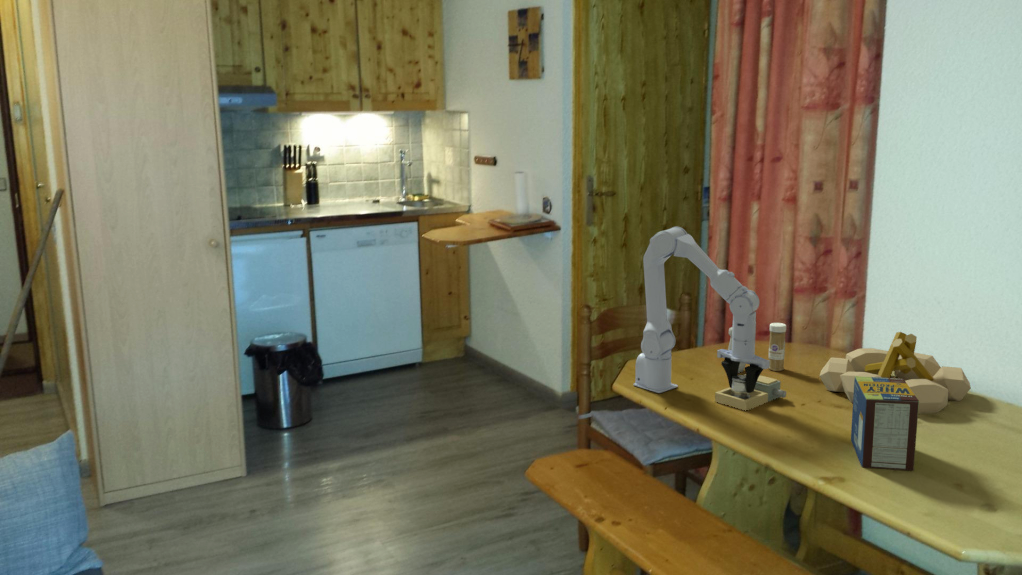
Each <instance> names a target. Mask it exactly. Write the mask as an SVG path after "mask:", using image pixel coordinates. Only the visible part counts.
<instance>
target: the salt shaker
mask: <svg viewBox="0 0 1022 575" xmlns="http://www.w3.org/2000/svg"><path fill="white" fill-rule="evenodd" d="M728 335H729V336H730V339H729V344H728V346H727V350H732V326H731V327H729V328H728ZM746 365H747V364H746V363H742V362H740V364H739V369H738V374H741V373H743V372H744V371H745V367H746ZM740 372H741V373H740Z"/></svg>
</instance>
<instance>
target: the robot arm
mask: <svg viewBox="0 0 1022 575" xmlns="http://www.w3.org/2000/svg"><path fill="white" fill-rule="evenodd" d="M672 256H673V257H677V258H679V257H680V258H686V259H687V260H689V261H690V262H691V263H692V264H694V266H695V267H697V268H698V269H699V270H700V271H701V272H702V273H703V274H704V275H706V276H707V278H709V282H710V283H709V284H710V286H711V288H712V289H713V290H715V292H716V293H717V294H718V296H720V297H721V298H722V299H724V301H725V302H726V303H727V304H728V306H729V311H730V312H731V313H732V326H731V327H732V350H728V349H724V348H721V349H717V351H716V352H717V353H716V354H717V355H716V358H718V359H721V358H722V359H724V360H722V361H721V366H722V368H723V369H724V371H725V374H726V377H727V381H728V385H729V386H728V387H730V388H732V376H734V375H739V373H738V369H739V364H740V362H742V363H746V365H748V366H745V368H744V371H745V374H746V378H747V393H751V392H754V389H755V385H756V382H757V380H758V377H759V376H760V375H762V372H763V370H767V369H768V368H769V366H770V360H769V359H766V358H763V357H761V356H759V355H756V354H755V352H756V349H755V348H756V329H757V322H756V321H757V318H756V317H757V310H758V309H759V307H760V298H759V296H758V295H757V293H756V292H755V291H754V290H752V289H751V290H750V289H749V288H748V287H747V286H744V285H743V284H742V283H741V282H740V281H739V280H738V279H737V278H736V277H735V273H734V272H733V271H729V270H727V269H721V268H719V267H718V266H717V265H716V263H715V262H714V261H713V260H712V258H710V257H709V256H708V254H706V252H705V251H704V250H703V249H702V247H700V245H699V244H698V243H697V242H696V240H695V239H694V238H693V236H692V235H691V234H690V233H688V232H687V230H685V229H684V228H683V227H680V226H673V227H670V228H668V229H665V230H661V231H658V232H656V233H655V234H654V235H653V236H652V237H651V238H650V239H649V244H648V246H647V249H646V251H645V253H644V254H643V258H642V259H643V262H642V263H643V274H644V275H643V276H644V289H645V290H644V293H645V305H646V321H647V322H646V325H645V327H644V329H643V332H642V335H643V336H642V337H643V338H642V340H641V343H640V350H641V353H640V354H638V356H637V358H636V361H635V373H634V374H635V382H634V383H632V384H633V386H634V387H638V388H640V389H644V390H647V391H651V392H653V393H658V394H661V393H664V392H667V391H670V390H673V389H675V388H677V387H678V386H679V385H678V384H676V383H672V349H673V348H674V347H675V345H676V337H675V336H676V335H674V332H673V330H672V324H671V322H670V321H669V320H668V312H667V311H668V310H667V297H666V296H667V294H666V280H665V278H666V276H665V262H666V261H667V260H668V259H670V258H671V257H672Z"/></svg>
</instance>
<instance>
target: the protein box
mask: <svg viewBox="0 0 1022 575" xmlns="http://www.w3.org/2000/svg"><path fill="white" fill-rule="evenodd" d="M918 409H919V400H918V399H917V397H916V396H915V394H914V393H913V392H912V390H911V389H910V387H909V386H908V384H907V383H906V382H905V380H904V379H903V378H898V377H890V378H882V377H861V376H855V380H854V396H853V403H852V414H851V430H850V431H851V432H850V442H851V444H852V447H853V448H854V451H855V454H856V456H857V459H858V462H859V465H860V466H861V467H862V468H867V469H868V468H870V469H886V470H899V471H914V470H915V456H916V445H917V433H918V418H919V414H918Z"/></svg>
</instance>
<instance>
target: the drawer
mask: <svg viewBox="0 0 1022 575" xmlns="http://www.w3.org/2000/svg"><path fill="white" fill-rule="evenodd" d="M744 375H746V373H745V374H744ZM731 391H732V388H730V386H728V387H726V388H724V389H722V390H718V391H716V392H714V402H715V401H716V402H715V403H717V402H718V403H717V404H721V405H724V404H725V406H727V405H729V406H728V407H731V406H733V407H732V408H734V407H735V408H734V409H737V408H738V410H741V409H742V410H741V411H744V410H745V411H744V412H747V411H746V410H748V411H750V410H752V409H755V408H757V407H760V406H762V405H764V403H765V404H766V402H767V403H769V402H772V401H774V400H776V398H777V399H779V398H783V399H785V398H786V396H787V391H786V390H784V389H781V380H778V379H776V378H773V377H768V376H765V375H762V374H760V376H759V377H758V380H757V382H756V385H755V389H754V392H751V393H750V398H749V399H746V400H744V399H741V398H738V397H734V396H731ZM773 399H774V400H773ZM771 400H772V401H771ZM768 401H769V402H768ZM759 405H760V406H759ZM756 406H757V407H756ZM754 407H755V408H754ZM751 408H752V409H751ZM749 409H750V410H749Z"/></svg>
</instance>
